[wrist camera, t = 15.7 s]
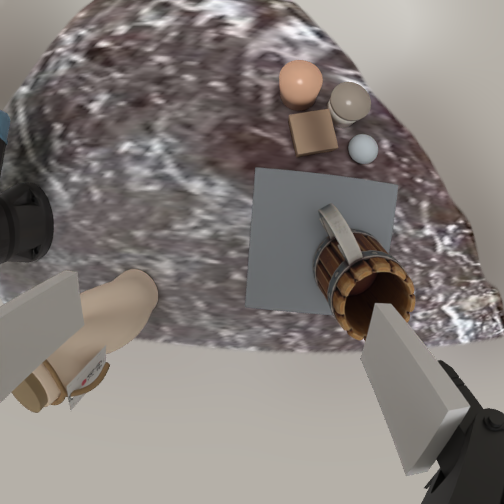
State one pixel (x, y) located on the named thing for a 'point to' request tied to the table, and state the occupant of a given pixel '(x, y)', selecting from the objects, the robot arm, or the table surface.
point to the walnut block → (312, 132)
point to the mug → (358, 275)
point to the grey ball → (363, 149)
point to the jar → (348, 104)
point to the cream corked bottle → (91, 341)
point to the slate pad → (305, 232)
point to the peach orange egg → (299, 84)
